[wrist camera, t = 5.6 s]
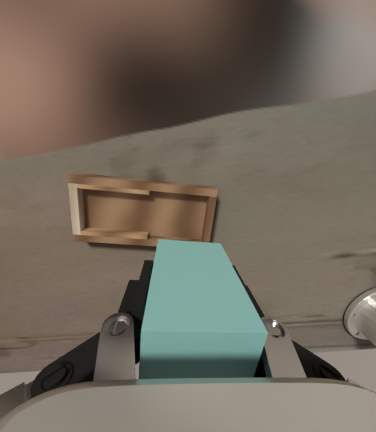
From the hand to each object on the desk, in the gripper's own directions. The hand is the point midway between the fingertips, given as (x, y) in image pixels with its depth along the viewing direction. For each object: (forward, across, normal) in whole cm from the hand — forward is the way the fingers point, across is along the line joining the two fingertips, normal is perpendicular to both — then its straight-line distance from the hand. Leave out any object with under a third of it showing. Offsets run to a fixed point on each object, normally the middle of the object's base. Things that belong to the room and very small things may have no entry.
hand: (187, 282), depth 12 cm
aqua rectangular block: (+2, 0, 0) cm, 2 cm away
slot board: (+16, +5, 0) cm, 17 cm away
